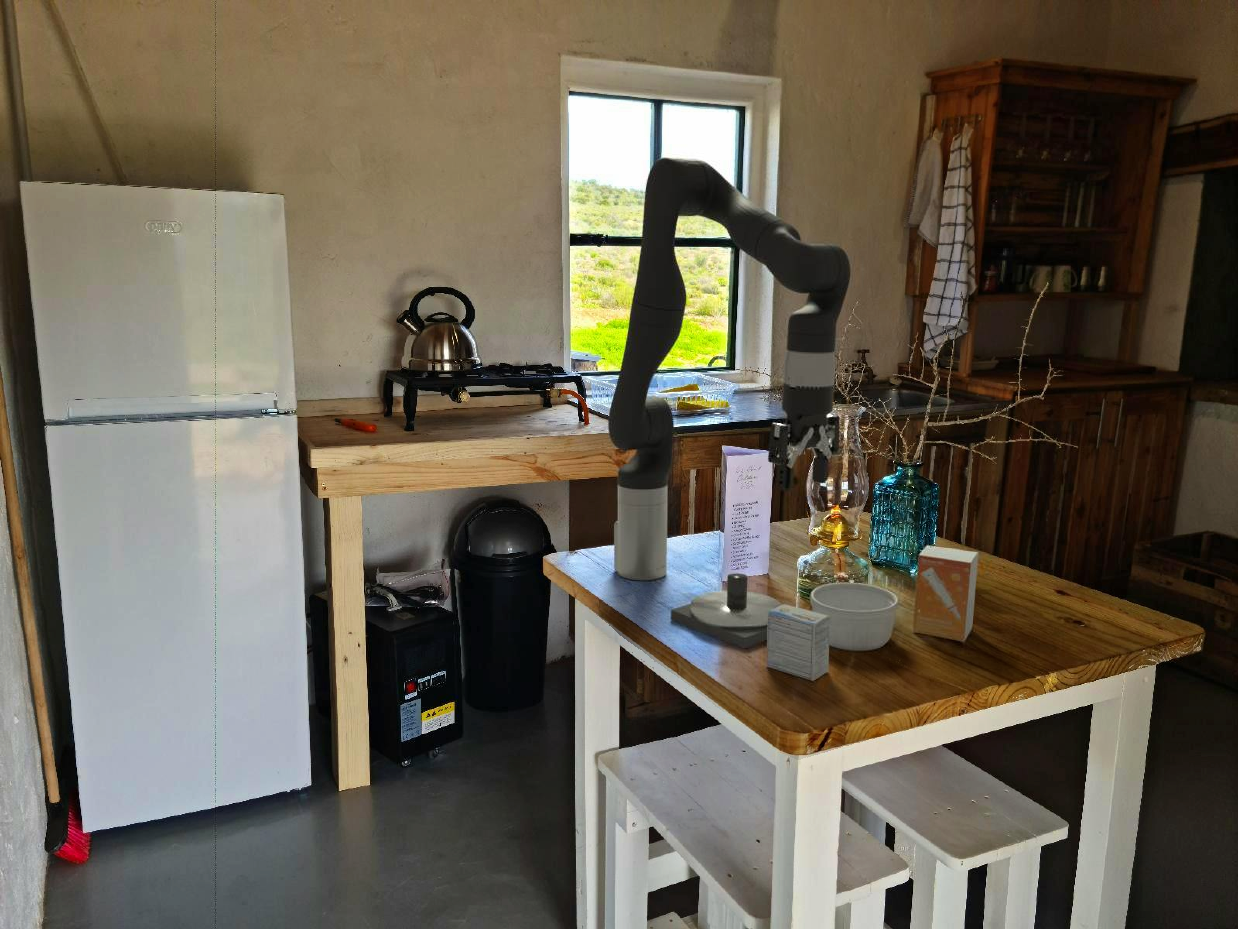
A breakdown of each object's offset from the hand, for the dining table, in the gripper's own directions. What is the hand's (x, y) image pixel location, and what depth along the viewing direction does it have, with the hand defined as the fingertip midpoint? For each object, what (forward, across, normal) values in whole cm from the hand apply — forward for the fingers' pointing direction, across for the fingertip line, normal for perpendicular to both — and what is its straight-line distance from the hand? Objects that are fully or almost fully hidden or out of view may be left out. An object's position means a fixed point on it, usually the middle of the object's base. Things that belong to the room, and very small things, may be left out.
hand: (802, 486), depth 149 cm
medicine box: (+24, +11, +9) cm, 28 cm away
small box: (+24, -18, +16) cm, 34 cm away
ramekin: (+24, -5, +8) cm, 26 cm away
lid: (+22, +4, -9) cm, 24 cm away
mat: (+24, +4, -9) cm, 26 cm away
